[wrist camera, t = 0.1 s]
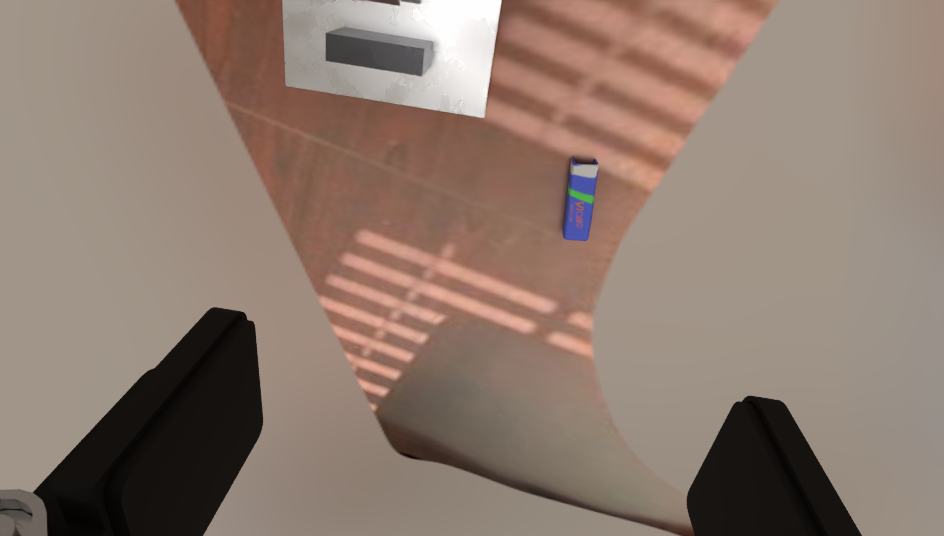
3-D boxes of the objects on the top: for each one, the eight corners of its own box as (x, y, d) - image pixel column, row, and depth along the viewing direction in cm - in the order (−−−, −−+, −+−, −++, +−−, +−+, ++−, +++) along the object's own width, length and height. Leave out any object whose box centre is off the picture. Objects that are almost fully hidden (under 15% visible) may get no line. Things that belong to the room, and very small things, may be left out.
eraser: (597, 157, 40) (600, 166, 38) (585, 230, 43) (588, 241, 41) (570, 155, 40) (572, 164, 38) (560, 228, 43) (562, 239, 41)
